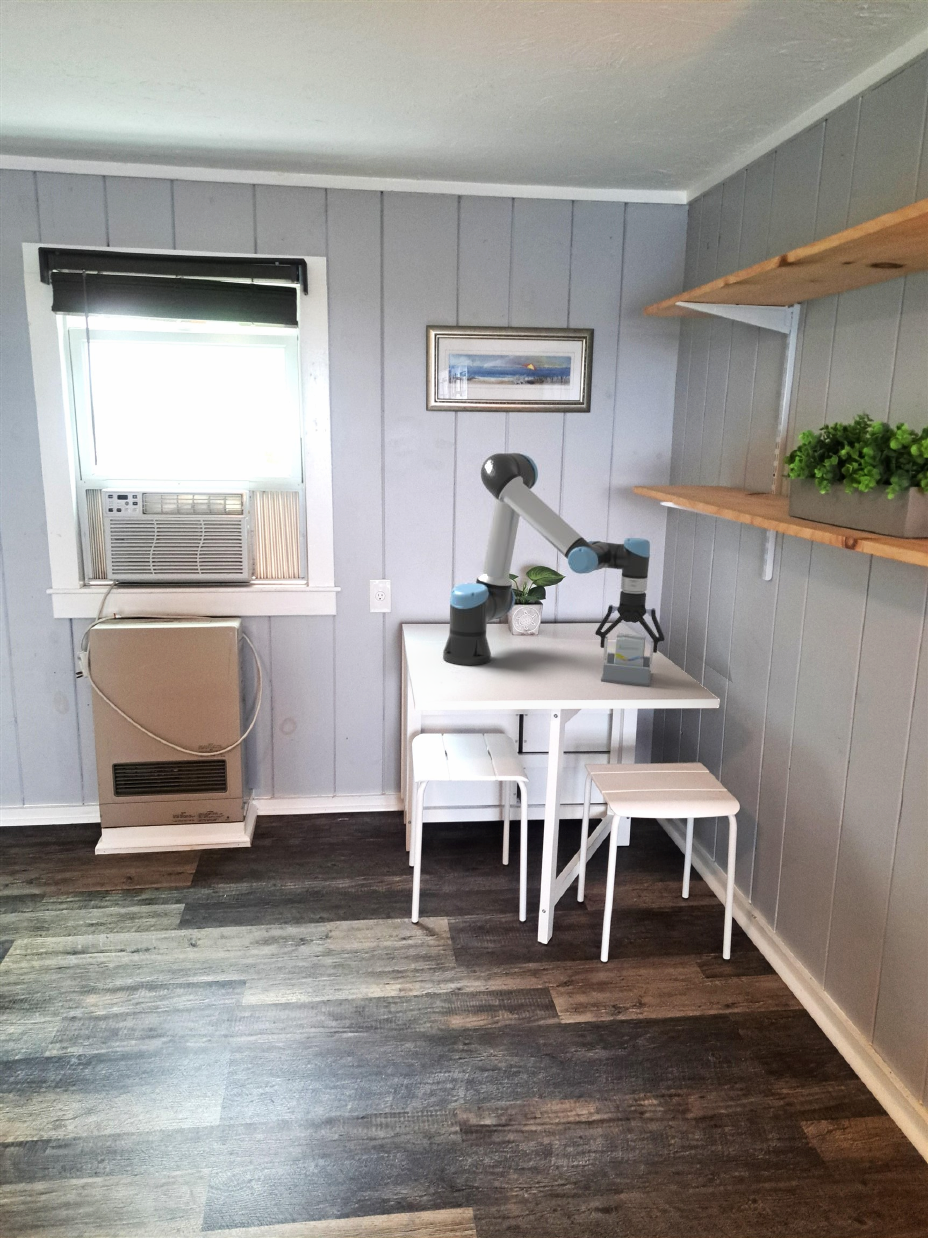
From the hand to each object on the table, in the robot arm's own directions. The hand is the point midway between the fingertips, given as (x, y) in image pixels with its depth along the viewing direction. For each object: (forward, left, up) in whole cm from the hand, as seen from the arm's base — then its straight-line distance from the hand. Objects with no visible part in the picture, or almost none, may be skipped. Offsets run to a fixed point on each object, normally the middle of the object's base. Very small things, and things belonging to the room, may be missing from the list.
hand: (627, 660), depth 252 cm
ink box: (0, 0, -4) cm, 5 cm away
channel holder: (0, 0, -5) cm, 5 cm away
